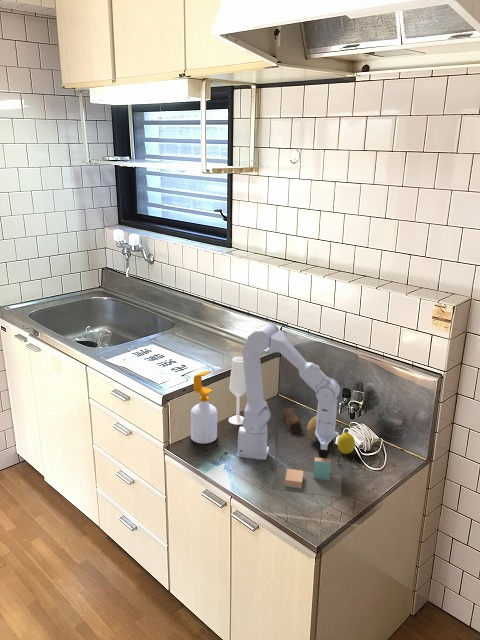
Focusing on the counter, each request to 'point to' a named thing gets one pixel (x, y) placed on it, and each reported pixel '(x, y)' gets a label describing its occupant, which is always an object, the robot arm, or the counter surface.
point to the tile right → (322, 468)
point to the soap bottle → (203, 414)
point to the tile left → (294, 478)
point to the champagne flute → (237, 386)
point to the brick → (291, 420)
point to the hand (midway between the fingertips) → (323, 458)
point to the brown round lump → (312, 427)
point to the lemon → (346, 443)
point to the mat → (310, 484)
